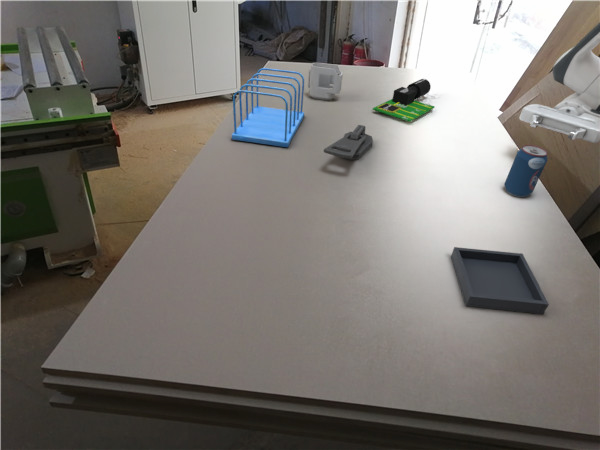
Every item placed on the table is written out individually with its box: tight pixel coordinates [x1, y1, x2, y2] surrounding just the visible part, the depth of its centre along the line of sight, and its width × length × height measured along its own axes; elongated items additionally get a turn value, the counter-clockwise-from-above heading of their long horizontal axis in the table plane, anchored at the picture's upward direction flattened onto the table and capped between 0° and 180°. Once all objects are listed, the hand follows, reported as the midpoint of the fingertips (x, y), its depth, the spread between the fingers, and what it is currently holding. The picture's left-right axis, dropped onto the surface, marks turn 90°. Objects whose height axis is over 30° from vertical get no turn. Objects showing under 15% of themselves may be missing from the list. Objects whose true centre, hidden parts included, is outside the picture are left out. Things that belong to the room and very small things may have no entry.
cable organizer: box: [307, 62, 344, 102], centre depth 151 cm, size 7×12×12 cm, turn 75°
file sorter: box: [231, 67, 305, 148], centre depth 126 cm, size 25×17×15 cm
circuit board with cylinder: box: [372, 78, 435, 123], centre depth 148 cm, size 30×7×15 cm
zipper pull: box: [323, 124, 374, 161], centre depth 115 cm, size 9×7×25 cm
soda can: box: [503, 144, 548, 198], centre depth 102 cm, size 7×7×12 cm
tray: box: [450, 246, 550, 315], centre depth 77 cm, size 14×14×3 cm
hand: (552, 130), depth 105 cm, fingers open, 8 cm apart
